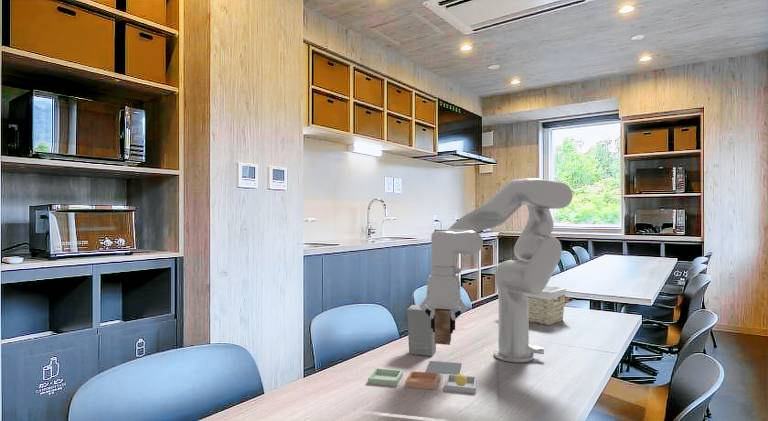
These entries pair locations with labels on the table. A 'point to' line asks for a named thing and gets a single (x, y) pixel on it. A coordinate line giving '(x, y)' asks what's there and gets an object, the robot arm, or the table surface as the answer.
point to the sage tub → (385, 377)
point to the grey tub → (467, 388)
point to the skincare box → (420, 332)
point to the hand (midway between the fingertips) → (443, 331)
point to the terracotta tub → (422, 380)
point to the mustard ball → (460, 380)
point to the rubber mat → (444, 367)
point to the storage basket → (547, 305)
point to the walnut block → (442, 327)
